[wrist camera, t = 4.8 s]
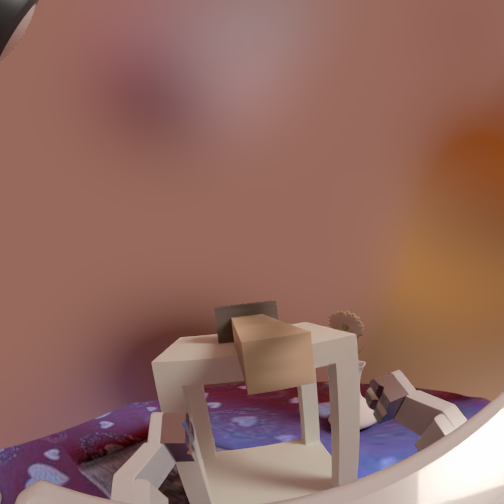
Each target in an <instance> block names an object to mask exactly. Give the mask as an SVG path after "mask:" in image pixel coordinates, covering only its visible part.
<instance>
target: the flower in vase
mask: <svg viewBox="0 0 504 504" xmlns="http://www.w3.org/2000/svg"><path fill="white" fill-rule="evenodd" d="M329 319H330V320H329V321H330V324H329V325H330V326H331V327H332V328H333V329H336V330H341V331H345V332H349V333H354V334H356V337H357V338H359V336H362V335H363V333H362V332H363V331H364V330H363V328H364V326H363V323H362V322H360V318H359V317H355V314H350V313H349V311H345V313H344V312H342V311H341V310H339V311H336V312H335V314H331V316H330V317H329ZM361 350H362V349H361ZM361 350H358V354H359V353H360V352H361ZM365 364H366V363H365V362H364V361H358V366H359V392H360V376H361V372H362V369H363V367H364V366H365ZM373 412H374V410H372V409H370V408H369V407H368V405H367V403H366V399H365V398H363V397H362V396H361V393H360V429H364V428H367V427H369V426H371V425H373V424H375V423H376V422H377V421H376V419H375V417H374V415H373ZM328 421H329V423H330V424H331V413H330V416H329V418H328Z"/></svg>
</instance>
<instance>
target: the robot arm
mask: <svg viewBox="0 0 504 504" xmlns="http://www.w3.org/2000/svg"><path fill="white" fill-rule="evenodd" d="M37 2H38V0H0V63H1V62H2V61H3V60H4V59H5V58H6V57H7V56H8V55H9V53H10V52H11V51H12V50H13V49H14V47H15V46H16V45H17V44H18V42H19V41H20V39H21V37H22V36H23V34H24V32H25V31H26V29H27V27H28V25H29V23H30V21H31V18H32V15H33V13H34V9H35V5H36V4H37ZM369 385H370V388H369V389H368V390H367V392H366V395H365V397H366V403H367V405H368V407H369V408H370V409H372V410H374V412H373V415H374V417H375V419H376V421H377V422H378V424H381V423H384V422H386V421H389V420H392V419H393V420H395V421H397V422H398V423H400V424H402V425H403V426H405V427H407V428H408V429H410V430H412V431H413V432H415V433H417V434H418V435H420V436H421V437H420V438H419V439H418V440H417V442H416V444H415V446H416V447H417V449H418V451H419V452H417V453H415V454H413V455H411V456H410V457H408V458H406V459H404V460H402V461H400V462H398V463H395V464H393V465H391V466H389V467H387V468H385V469H382V470H380V471H378V472H375V473H373V474H371V475H368V476H366V477H363V478H360V479H358V480H355V481H352V482H349V483H346V484H344V485H340V486H337V487H334V488H331V489H328V490H324V491H321V492H317V493H313V494H309V495H305V496H301V497H297V498H292V499H287V500H282V501H277V502H271V503H264V504H504V391H503V392H502V393H501V394H500V395H498V396H497V397H496V398H495V399H494V400H493V401H491V402H490V403H489V404H488V405H487V406H485V407H484V408H483V409H482V410H481V411H479V412H478V413H477V414H475V415H474V416H473V417H471V418H470V419H469V420H467V419H466V418H465V417H464V415H463V414H462V413H461V412H460V410H459V409H458V408H457V406H456V405H455V404H452V403H450V402H447V401H445V400H442V399H439V398H437V397H434V396H432V395H429V394H427V393H424V392H422V391H420V390H418V391H416V390H415V388H414V387H413V386H412V384H411V383H410V382H409V381H408V379H407V378H406V377H405V376H404V374H403V373H402V372H401V371H400V370H397V371H394V372H392V373H388V374H385V375H382V376H380V377H377V378H374V379H372V380H371V381H370V383H369ZM193 442H194V429H193V425H192V422H190V421H189V415H188V413H187V412H152V414H151V417H150V425H149V433H148V442H147V443H144V444H143V445H142V446H141V447H140V448H139V449H138V450H137V451H136V452H135V453H134V454H133V455H132V456H131V457H130V458H129V460H128V461H127V462H126V463H125V464H124V465H123V466H122V467H121V468H120V469H119V470H118V471H117V472H116V473H115V474H114V476H113V484H112V491H111V500H110V499H105V498H101V497H96V496H92V495H88V494H85V493H81V492H77V491H74V490H71V489H68V488H65V487H62V486H59V485H56V484H53V483H50V482H48V481H44V480H39V481H37V482H35V483H33V484H32V485H30V486H29V487H27V488H26V489H25V490H23V491H22V492H20V493H19V495H18V497H17V499H16V502H15V504H168V498H167V497H166V496H164V495H163V494H162V493H161V492H160V491H159V490H158V488H159V487H160V485H161V484H162V483H163V481H164V480H165V478H166V477H167V475H168V474H169V472H170V471H171V470H172V468H173V467H174V465H175V464H176V462H191V461H195V449H194V447H193V444H192V443H193ZM1 499H2V497H1V492H0V504H1Z"/></svg>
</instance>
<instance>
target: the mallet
mask: <svg viewBox="0 0 504 504" xmlns="http://www.w3.org/2000/svg"><path fill="white" fill-rule="evenodd" d="M214 310H215V319H216V327H217V335H218V342H219V344H221V343H230V342H234V343H235V347H236V351H237V355H238V359H239V362H240V366H241V370H242V374H243V377H244V381H245V385H246V388H247V392H248V395H250V394H257V393H264V392H270V391H276V390H281V389H287V388H292V387H297V386H302V385H307V384H311V383H315V371H314V360H313V349H312V339H311V332H310V331H308V330H305V329H302V328H299V327H296V326H293V325H291V324H288V323H285V322H282V321H280V320H278V315H277V306H276V301H264V302H256V303H247V304H240V305H230V306H221V307H215V308H214Z"/></svg>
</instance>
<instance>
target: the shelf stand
mask: <svg viewBox="0 0 504 504" xmlns="http://www.w3.org/2000/svg"><path fill="white" fill-rule="evenodd" d="M291 325H293V326H296V327H299V328H302V329H305V330H308V331H310V332H311V339H312V349H313V360H314V371H315V368H317V367H322V366H326V365H328V377H329V393H330V412H331V444H332V456H331V455H330V454H329V453H328V451H327V450H326V449H325V447H324V446H323V445H322V443H321V442H320V432H319V414H318V398H317V385H316V374H315V383H311V384H307V385H302V386H297V387H298V397H299V409H300V420H301V433H302V439H298V440H293V441H288V442H283V443H278V444H273V445H267V446H261V447H254V448H246V449H238V450H228V451H216V448H215V443H214V438H213V434H212V429H211V424H210V419H209V414H208V409H207V403H206V398H205V392H204V387H203V385H204V384H215V383H225V382H234V381H242V380H244V377H243V374H242V370H241V366H240V362H239V359H238V355H237V351H236V347H235V343H234V342H230V343H221V344H219V342H218V335H217V334H214V335H204V336H192V337H180V338H179V339H178V340H177V341H175V343H173V344H172V345H171V346H170V347H169V348H167V349H166V350H165V351H164V352H163V353H162V354H161V355H159V356H158V357H157V358H156V359H155V360H154V361H152V367H153V373H154V378H155V384H156V389H157V393H158V398H159V403H160V407H161V412H187V413H188V415H189V421H190V422H192V425H193V429H194V442H193V443H192V444H193V447H194V449H195V461H191V462H176V466H177V469H178V472H179V475H180V478H181V481H182V484H183V487H184V489H185V492H186V495H187V498H188V500H189V503H190V504H264V503H271V502H277V501H282V500H287V499H292V498H297V497H301V496H305V495H309V494H313V493H317V492H321V491H324V490H328V489H331V488H334V487H337V486H340V485H344V484H346V483H349V482H352V481H355V480H357V475H358V460H359V436H360V392H359V366H358V350H357V337H356V334H354V333H349V332H345V331H341V330H336V329H332V328H328V327H324V326H320V325H316V324H312V323H308V322H303V323H297V324H291Z"/></svg>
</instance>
